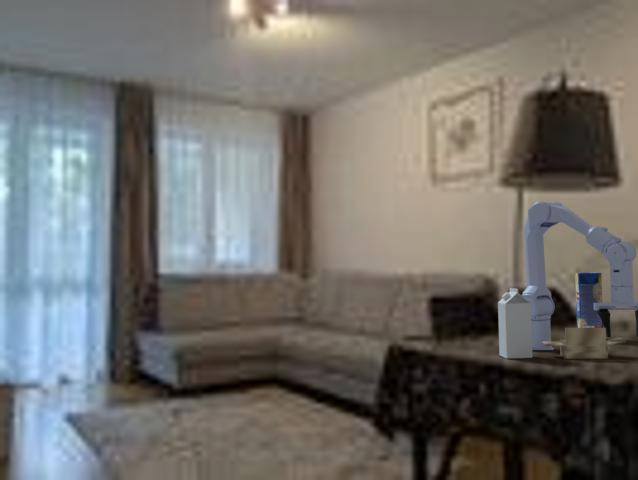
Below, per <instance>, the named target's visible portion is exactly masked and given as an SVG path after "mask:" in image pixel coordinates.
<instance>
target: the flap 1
mask: <svg viewBox="0 0 638 480" xmlns="http://www.w3.org/2000/svg"><path fill="white" fill-rule="evenodd" d="M564 330H565V334H564V335H565V339H566V345H607V344H606V340H607V336H606V328H604V327H603V328H577V327H565V329H564Z"/></svg>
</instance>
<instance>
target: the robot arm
mask: <svg viewBox="0 0 638 480" xmlns="http://www.w3.org/2000/svg"><path fill="white" fill-rule="evenodd" d="M559 223H563V224H565V225H566V226H568V227H569V228H571V229H573V230H575V231H576V232H577V233H580V234H581V235H583V236H584V237H585V241H586V243H587V244H588V245H590V246H591V247H592V248H594V249H595V250H597V251H598V252H600V253H601V254H602V255H604V256H605V259H606V260H607V262H608V263H609V277H610V278H609V279H610V281H609V283H610V302H602V303H594V310H597V312H598V314H599V316H600V318H601V320H602V322H603V328H606V338H611V334H612V333H611V332H612V331H611V312H610V311H634V317H635V334H636V337H637V338H638V301H635V297H634V296H635V295H634V292H635V291H634V267H633V264H634V263H633V261H634V260H635V259H636V255H637V251H636V247H635V246H634V245H633V244H632V243H631V241H623V240H622V237H620V236H615V235H614V234H612V233H611V232H610V231H609V230H608V227H606V226H599V225H597V226H592V225H591V224H590V223H589V222H587V221H586V220H585V219H583V218H582V217H580V216H579V215H578V214H576V213H575V212H574V211H572V210H571V209H570V208H569V207H567V206H566V205H563V204H562V203H560V202H556V201H553V202H550V201H549V202H548V201H543V200H539V201H535V202H534V203H533V204H532V205H531V206H530V207H529V208H528V209H527V219H526V222H525V225H524V227H523V233H524V234H523V236H524V237H523V238H524V256H525V271H526V273H525V274H526V288H525V289H524V290H523V291H522V294H521V295H522V296H523V297H524V298H525V299H526V300H528V301H529V302H530V303H531V324H532V351H555V348H554V346H545V345H544V344H543V343H542V341H552V335H551V333H552V332H551V331H552V329H551V318H552V315H553V314H554V312H555V308H556V305H555V303H554V300H553V299H552V292H551V290H550V289H549V288H548V287H547V281H546V280H547V278H546V261H545V260H546V259H545V242H544V241H545V240H544V234H545V233H546V232H547V231H548V230H549V229H550V228H553V226H555V225H557V224H559Z"/></svg>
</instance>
